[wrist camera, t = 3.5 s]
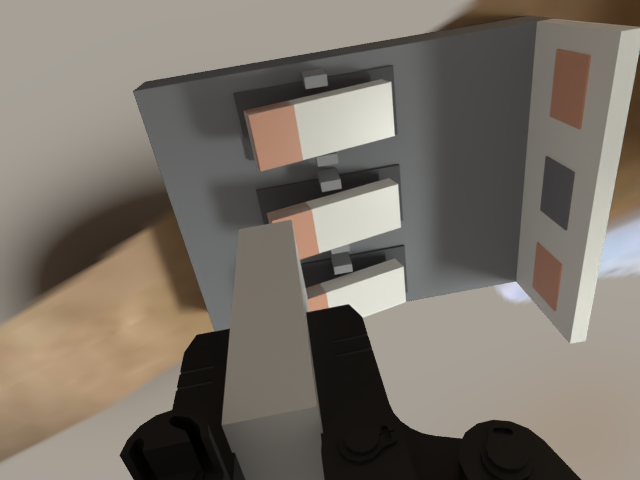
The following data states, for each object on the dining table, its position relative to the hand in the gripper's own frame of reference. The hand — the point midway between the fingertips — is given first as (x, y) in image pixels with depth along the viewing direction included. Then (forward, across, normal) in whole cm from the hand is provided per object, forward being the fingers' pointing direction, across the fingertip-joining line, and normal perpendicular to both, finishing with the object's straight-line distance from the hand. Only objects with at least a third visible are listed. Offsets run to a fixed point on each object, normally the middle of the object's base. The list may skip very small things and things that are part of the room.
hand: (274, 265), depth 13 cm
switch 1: (+13, -3, 0) cm, 14 cm away
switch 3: (+13, -3, +12) cm, 18 cm away
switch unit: (+19, -5, +6) cm, 20 cm away
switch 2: (+13, -3, +6) cm, 15 cm away
